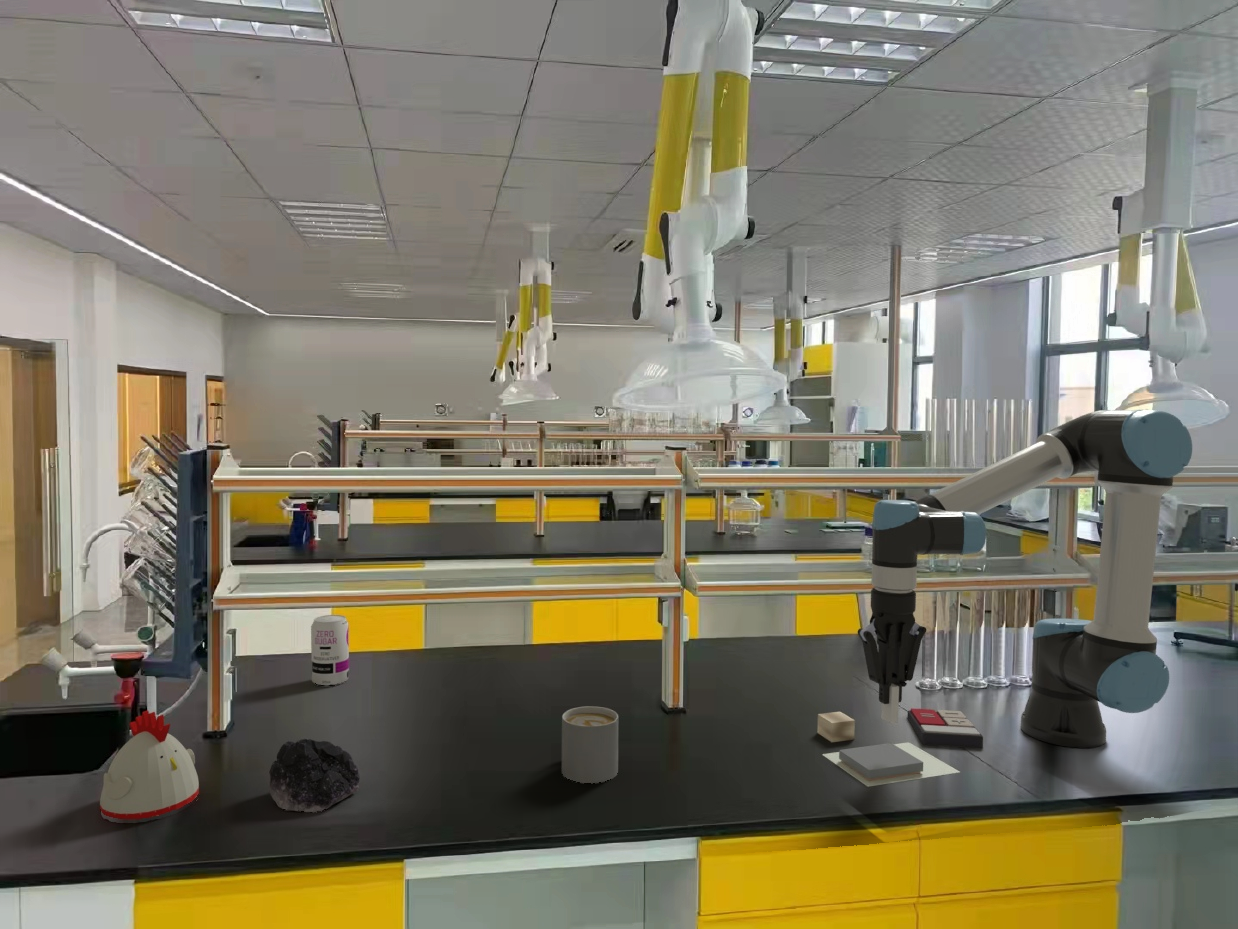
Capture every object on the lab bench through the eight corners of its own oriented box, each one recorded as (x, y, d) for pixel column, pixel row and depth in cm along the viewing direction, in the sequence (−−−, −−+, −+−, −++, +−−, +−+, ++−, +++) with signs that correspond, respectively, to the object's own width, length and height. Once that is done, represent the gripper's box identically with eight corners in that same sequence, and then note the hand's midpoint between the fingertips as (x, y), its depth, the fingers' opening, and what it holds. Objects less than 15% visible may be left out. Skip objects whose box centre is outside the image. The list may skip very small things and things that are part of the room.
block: (839, 736, 166) (839, 711, 166) (854, 745, 161) (854, 720, 161) (817, 739, 164) (817, 714, 164) (831, 749, 159) (832, 723, 159)
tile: (890, 743, 154) (839, 750, 151) (923, 762, 146) (869, 770, 142) (890, 753, 154) (838, 761, 151) (923, 773, 146) (869, 781, 142)
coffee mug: (621, 782, 144) (621, 725, 143) (563, 785, 143) (563, 727, 142) (612, 751, 157) (612, 699, 156) (559, 753, 156) (559, 700, 155)
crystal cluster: (373, 801, 138) (375, 739, 138) (293, 822, 128) (295, 755, 129) (334, 782, 147) (336, 724, 148) (256, 800, 137) (258, 738, 138)
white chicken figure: (141, 831, 126) (139, 733, 125) (79, 814, 131) (76, 719, 130) (218, 793, 138) (216, 704, 138) (159, 778, 144) (157, 692, 143)
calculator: (962, 709, 172) (983, 732, 157) (962, 730, 172) (983, 755, 157) (907, 706, 174) (922, 729, 159) (906, 727, 174) (922, 751, 159)
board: (908, 748, 160) (908, 742, 160) (960, 778, 146) (960, 772, 146) (821, 760, 154) (821, 754, 154) (867, 793, 140) (867, 786, 140)
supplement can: (344, 674, 202) (343, 612, 201) (352, 684, 195) (352, 620, 194) (308, 679, 198) (308, 616, 197) (316, 689, 191) (315, 624, 190)
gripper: (910, 582, 153) (906, 709, 154) (849, 586, 148) (845, 717, 150) (938, 590, 145) (934, 724, 147) (874, 595, 141) (871, 732, 143)
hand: (889, 720), depth 148 cm, fingers closed
